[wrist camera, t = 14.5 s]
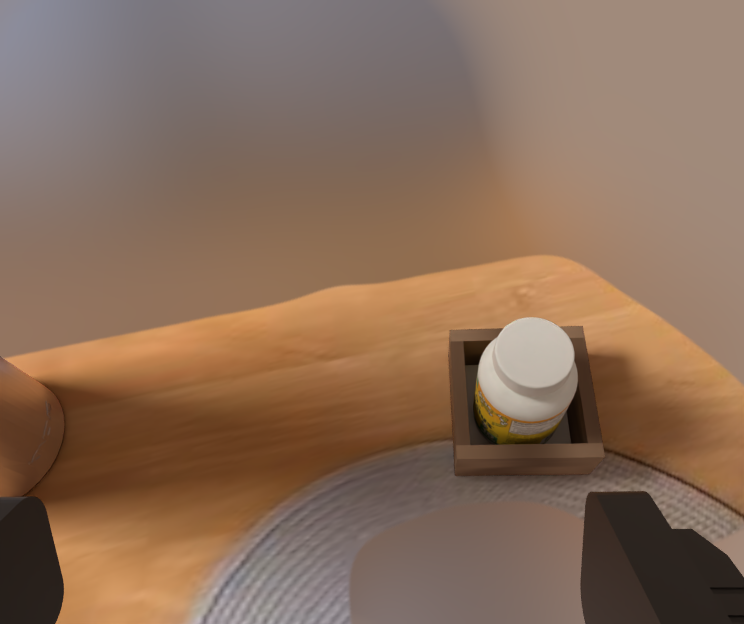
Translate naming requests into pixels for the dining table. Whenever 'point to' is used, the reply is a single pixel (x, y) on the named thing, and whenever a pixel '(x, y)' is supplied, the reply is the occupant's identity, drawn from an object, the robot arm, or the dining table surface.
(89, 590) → the dining table surface
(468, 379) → the holder
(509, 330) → the supplement bottle
